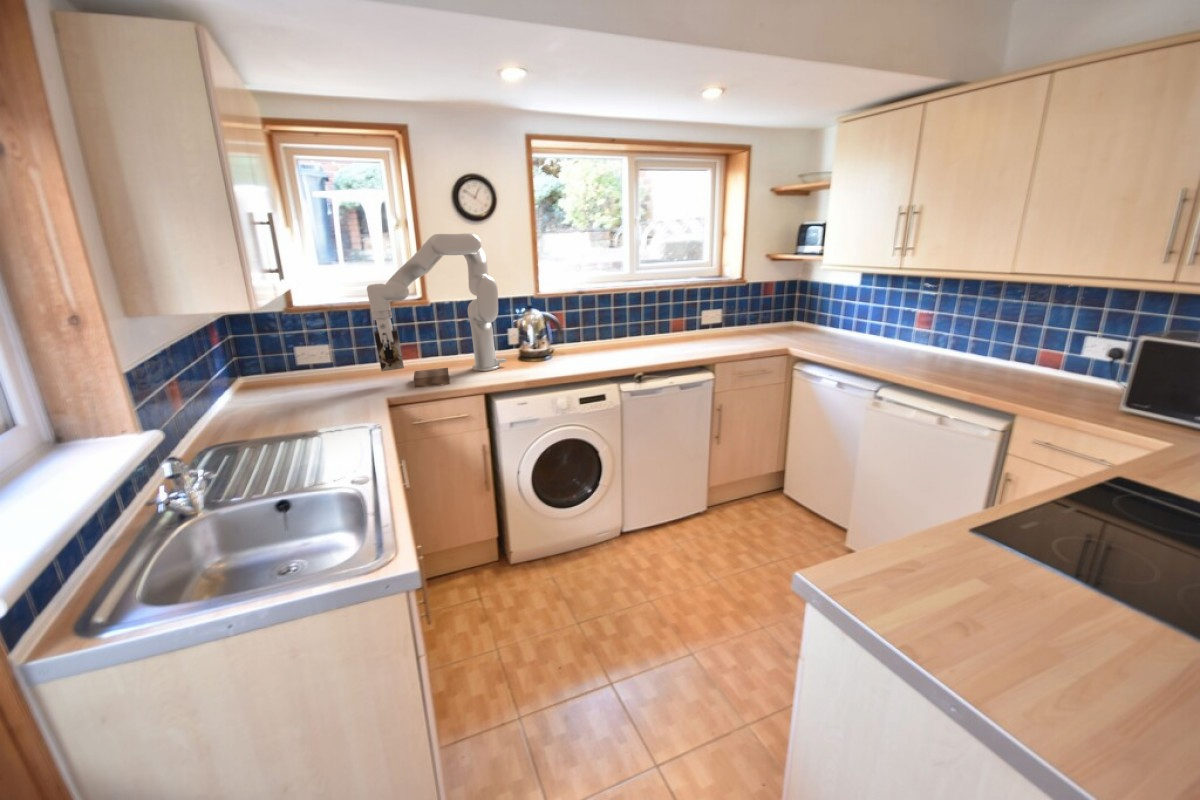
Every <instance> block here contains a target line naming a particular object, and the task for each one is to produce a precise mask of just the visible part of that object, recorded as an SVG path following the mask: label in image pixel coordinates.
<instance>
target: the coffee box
mask: <svg viewBox="0 0 1200 800" xmlns="http://www.w3.org/2000/svg"><path fill="white" fill-rule="evenodd" d="M373 333H374V340H375V345H376V350H377V356H378V361H379V364H380V365H379V367H380V371H381V372H387V371H388V372H389V371H395V370H396V371H397V370H402V369H405V365H404V361H403V356H402V349H401V343H400V339H399V333H398V329H397V328H393V330H392V334H393V339H394V342H393V343H392V342H390V343H391V349H392V351H393V356H394V359H390V360H386V358H385V354H384V346H383V344H382V343H381V340H380V336H379V332H378V330H375V331H374V332H373ZM382 342H383V341H382ZM387 342H389V341H387Z"/></svg>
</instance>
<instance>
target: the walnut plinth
mask: <svg viewBox="0 0 1200 800" xmlns="http://www.w3.org/2000/svg"><path fill="white" fill-rule="evenodd" d="M413 373H414V374H413V383H414V388H415V389H417V388H425V387H426V386H427V387H434V385H435V386H442V385H441V384H444V385H450V384H451V382H450V373H449V368H448V367H441V368H439V367H438V368H433V369H422V370H415V371H414V372H413Z"/></svg>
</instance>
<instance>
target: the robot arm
mask: <svg viewBox="0 0 1200 800" xmlns="http://www.w3.org/2000/svg"><path fill="white" fill-rule="evenodd" d="M444 256H463V257H464V259H465V261H466V265H467V273H468V275H467V276H468V277H467V278H468V289H469V292H470V293H471V294H472V295H474V296H475V297H476V299H474V300H472V301H470V303H469V304H468V306H467V316H468V320H469V325H470V329H471V338H472V347H473V355H474V365H472V367H471V369H472V370H473V371H475V372H488V371H494V370H497V369H499V368H500V367H501V364H504V363H507V358H503V357H500V358H498V357H497V356H496V349H495V347H496V346H495V338H494V329H493V324H492V323H493V322H495V321H496V320H497V318H498V315H499V292H498V285H497V282H496V281H495V279H494V278H493V277H491V276H490V275H489V271H488V269H489V268H488V260H487V256H486V254H485V252H484V250H483V249H482V241H481V238H480V237H479V236H478V235H476V234H474V233H435V234H432V235H431V236H430V237H428V239H427V240H426V241H425V243H424V244H422V245H421V247H420V248H419V249H418V250H417V251H416V253H414V255H413V256H412V257H411V258H409V259H408V260H407V261H406V262H405V263H404V264H403V265H402V266H401V267H399V269H398V270H397V271H396V272H395V273H393V275H392V276H391V277H390V278H389V279H388V280H387V281H386V283H373V284H369V285H367V286H366V292H367V297H368V302H369V303H368V304H369V306H370V307H369V308H370V312H371V317H372V320H373V321H376V326H377V331H378V332H379V336H380V340H381V343H382V344H383V346H384V354H385V358H386V360H390V359H394V356H393V351H392V349H391V343H390V342H392V343H393V342H394V339H393V334H392V330H393V329H394V328H393V327H394V326H393V324H392V320H391V319H392V318H393V313H392V308H391V303H390V301H391V302H393V301H396V302H397V301H405V299H407V297H409V293H410V289H409V287H410V285H411V284H412V283H413V282H415V281H416V280H417V279H419V278H421V277H423V276H425V275H427V274H428V273H429V272H430V271H431V270H432V269H433V268H434V267H435V265H436V264H437V263H438V262H439V261H440V260H441V259H442V257H444ZM382 341H383V342H382ZM387 341H389V342H387Z"/></svg>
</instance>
